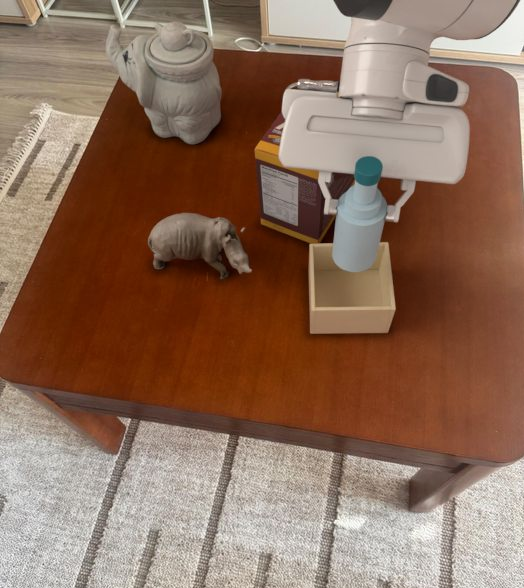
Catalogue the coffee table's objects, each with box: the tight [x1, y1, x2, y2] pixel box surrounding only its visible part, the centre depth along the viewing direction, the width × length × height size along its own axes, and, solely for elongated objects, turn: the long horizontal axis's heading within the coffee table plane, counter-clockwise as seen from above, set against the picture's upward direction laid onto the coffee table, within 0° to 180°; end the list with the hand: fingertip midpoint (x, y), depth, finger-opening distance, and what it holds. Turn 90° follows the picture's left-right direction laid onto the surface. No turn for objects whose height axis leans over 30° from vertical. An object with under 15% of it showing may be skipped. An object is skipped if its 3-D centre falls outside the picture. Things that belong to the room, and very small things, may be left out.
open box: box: [308, 241, 397, 335], centre depth 74 cm, size 11×11×6 cm
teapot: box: [104, 21, 223, 145], centre depth 88 cm, size 16×15×19 cm
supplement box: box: [254, 88, 355, 244], centre depth 79 cm, size 10×15×16 cm
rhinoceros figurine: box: [147, 212, 253, 280], centre depth 78 cm, size 8×14×15 cm
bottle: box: [332, 156, 388, 272], centre depth 61 cm, size 6×6×15 cm
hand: (360, 218), depth 60 cm, fingers closed on bottle, 5 cm apart
